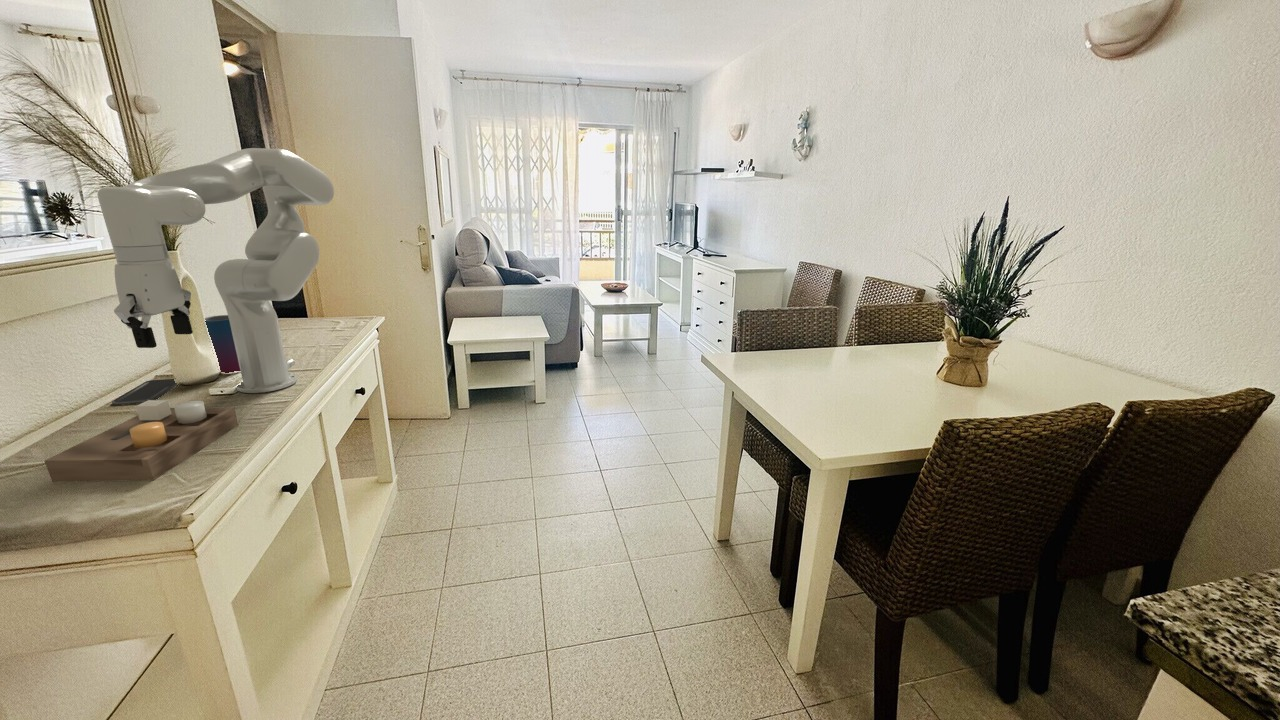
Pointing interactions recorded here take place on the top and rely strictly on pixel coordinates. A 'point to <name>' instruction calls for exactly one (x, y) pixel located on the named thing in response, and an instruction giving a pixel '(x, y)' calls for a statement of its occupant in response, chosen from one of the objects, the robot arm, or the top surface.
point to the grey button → (190, 412)
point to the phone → (146, 392)
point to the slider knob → (153, 410)
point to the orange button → (148, 434)
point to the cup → (223, 342)
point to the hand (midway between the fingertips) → (166, 340)
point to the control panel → (138, 449)
